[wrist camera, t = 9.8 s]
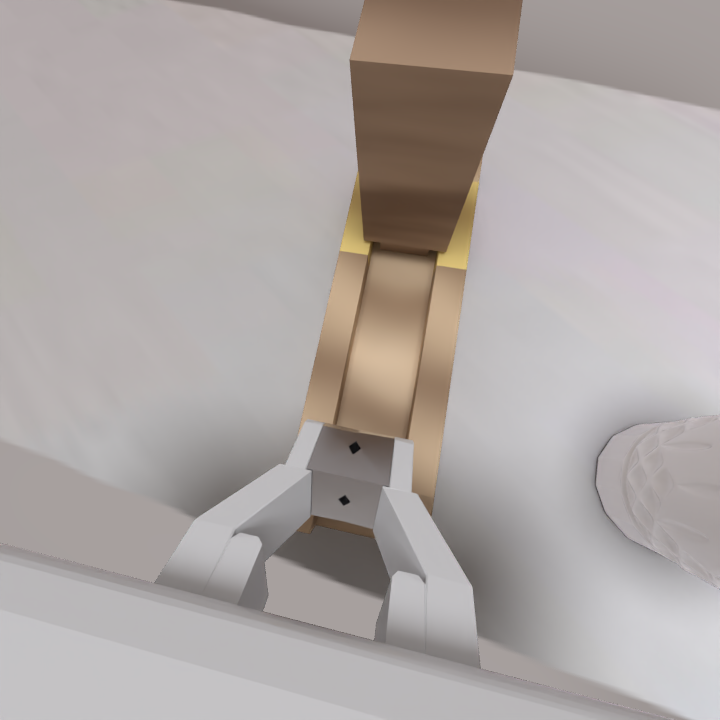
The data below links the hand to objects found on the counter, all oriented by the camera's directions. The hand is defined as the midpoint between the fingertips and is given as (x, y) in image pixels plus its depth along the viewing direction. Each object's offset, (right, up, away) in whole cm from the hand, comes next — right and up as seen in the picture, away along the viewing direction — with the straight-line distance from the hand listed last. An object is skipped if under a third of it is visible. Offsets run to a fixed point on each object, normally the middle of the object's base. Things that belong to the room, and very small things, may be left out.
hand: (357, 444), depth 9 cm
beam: (+2, +5, +12) cm, 13 cm away
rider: (+3, +10, +10) cm, 15 cm away
